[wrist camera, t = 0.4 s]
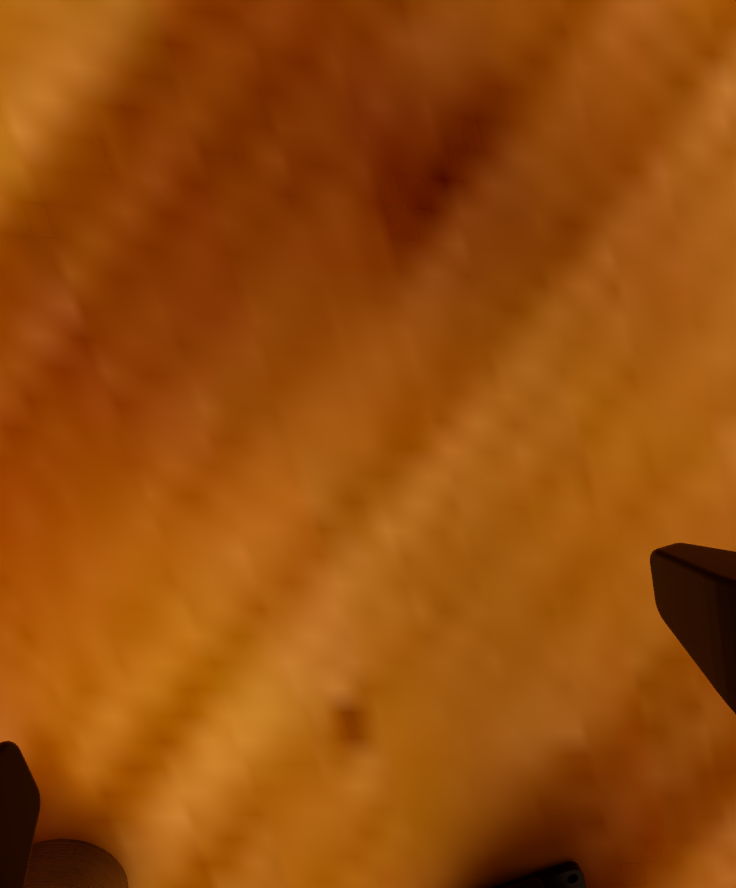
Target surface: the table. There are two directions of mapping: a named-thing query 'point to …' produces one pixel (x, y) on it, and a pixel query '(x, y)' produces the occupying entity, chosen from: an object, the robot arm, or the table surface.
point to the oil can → (73, 866)
